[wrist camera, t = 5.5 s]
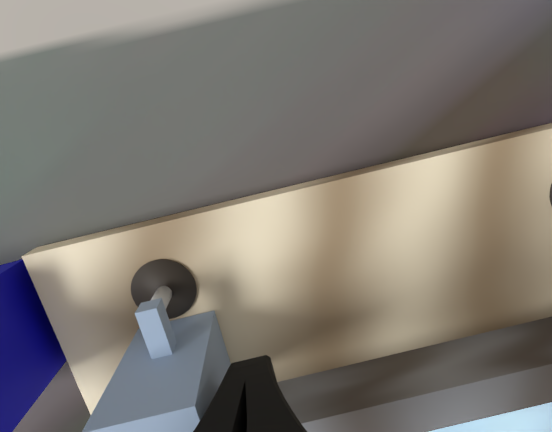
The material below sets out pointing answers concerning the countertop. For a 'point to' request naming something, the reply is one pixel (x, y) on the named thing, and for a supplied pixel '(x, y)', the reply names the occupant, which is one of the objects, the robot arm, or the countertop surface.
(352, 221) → the board
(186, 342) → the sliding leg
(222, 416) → the robot arm
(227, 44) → the countertop surface
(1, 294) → the cable clip
